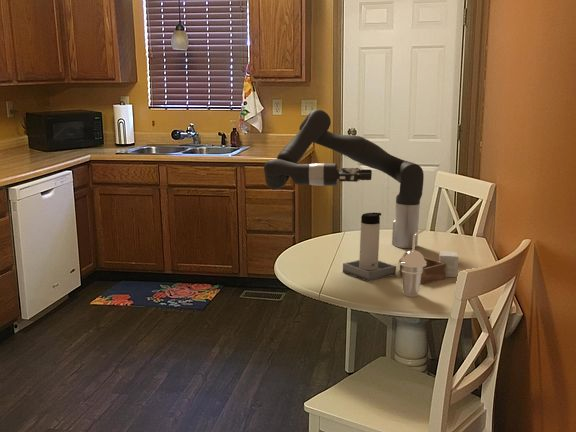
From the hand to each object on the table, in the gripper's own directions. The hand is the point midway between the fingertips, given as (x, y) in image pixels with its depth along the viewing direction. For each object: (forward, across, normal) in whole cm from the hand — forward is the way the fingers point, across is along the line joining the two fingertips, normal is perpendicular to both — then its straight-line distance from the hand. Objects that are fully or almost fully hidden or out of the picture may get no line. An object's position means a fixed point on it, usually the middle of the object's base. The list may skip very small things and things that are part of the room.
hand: (371, 174), depth 210 cm
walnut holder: (+17, -5, +34) cm, 38 cm away
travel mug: (0, -4, +32) cm, 33 cm away
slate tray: (0, -4, +33) cm, 33 cm away
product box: (+26, 0, +34) cm, 43 cm away
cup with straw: (+13, -23, +34) cm, 43 cm away
